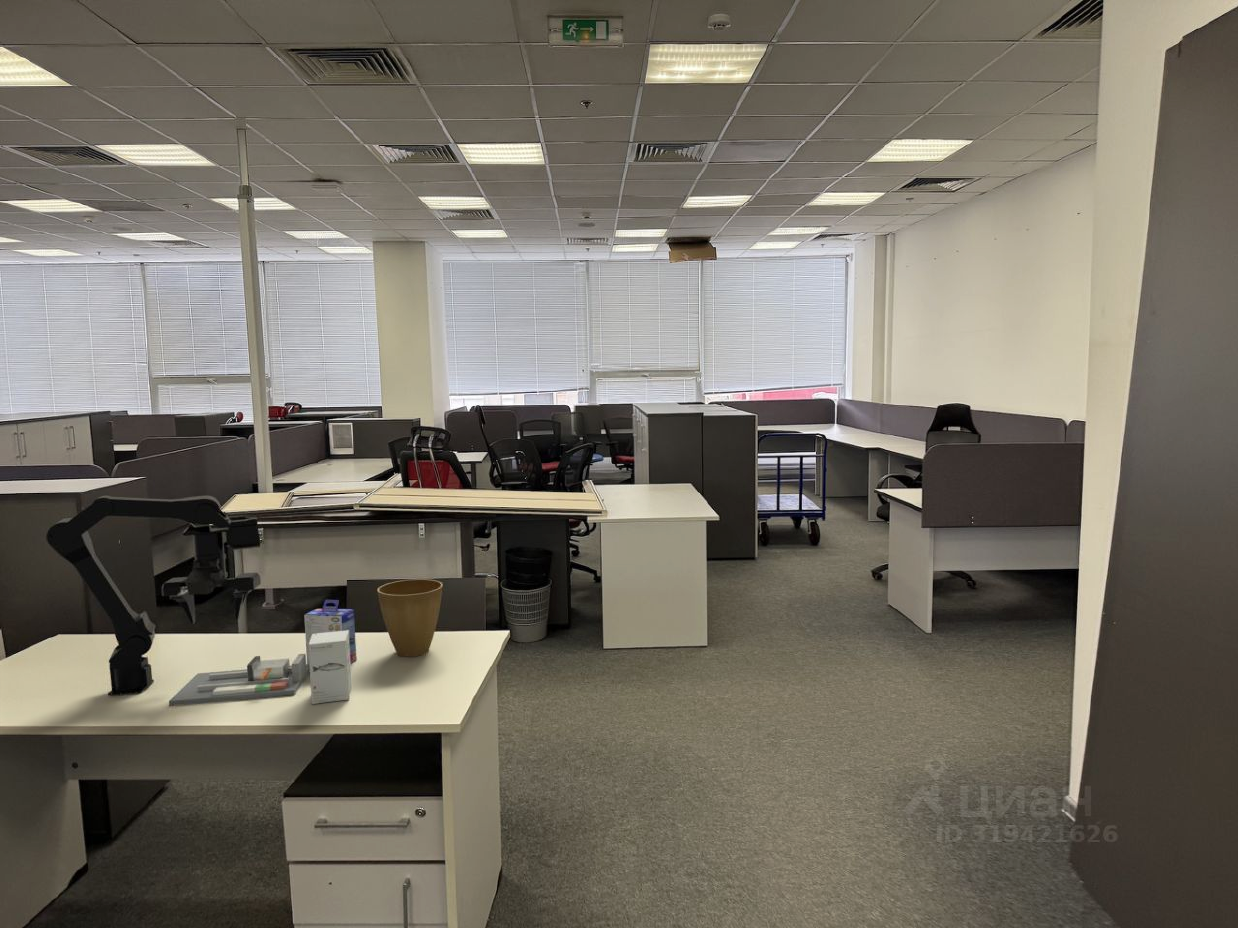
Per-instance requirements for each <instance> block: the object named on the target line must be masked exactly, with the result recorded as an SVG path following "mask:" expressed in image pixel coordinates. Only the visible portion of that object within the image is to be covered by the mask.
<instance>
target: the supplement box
mask: <svg viewBox="0 0 1238 928" xmlns="http://www.w3.org/2000/svg"><path fill="white" fill-rule="evenodd" d="M309 664H310V672H309V674H310V675H309V676H310V680H309V681H310V692H311V693H310V694H311V696H310V697H311V705H316V704H321V703H322V704H323V703H331V702H338V701H348V700H350V695H351V690H352V668H351V666H352V665H351V664H352V663H350V646H349V630H346V631H337V632H326V633H316V634H312V636H311V639H310V642H309Z"/></svg>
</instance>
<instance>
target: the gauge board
mask: <svg viewBox="0 0 1238 928" xmlns="http://www.w3.org/2000/svg"><path fill="white" fill-rule="evenodd" d="M309 674H310V664H307V654H306V653H299V654H297V656H296V658H295V659H294V660H293V661H292V663H291V665H290V673H289V674H288V675H287V677H286V678H281V679H269V680H258V681H248V672H247V668H245V669H237V670H234V669H233V670H224V671H223V670H222V671H212V672H210V671H209V672H200V673H199V672H198V673H196V674H195V675H194V677H192V678H191V679H190V680H189V681H188V682H186V684H185V685H184V686H183V687H182V688H181V689H180V690H178V691H177V693H176V694H174V696H173V697H171V698H170V700H169V701H168V705H169V706H170V707H173V706H181V705H182V706H183V705H193V704H195V705H196V704H204V703H214V702H215V703H217V702H228V701H238V700H249V699H250V700H251V699H261V698H270V697H283V696H294V695H296V694H297V692H298V690H299V689H300V687H301V686H302V684H303V682H304V681H305V680H306V678H307V676H308V675H309Z"/></svg>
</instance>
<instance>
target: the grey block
mask: <svg viewBox="0 0 1238 928" xmlns="http://www.w3.org/2000/svg"><path fill="white" fill-rule="evenodd" d="M290 666H291V665H290V658H280V659H279V658H278V659H266V660H261V655H258V656H257V655H256V656H255V655H254V657H252V659H251V660H250V661H249V663H248V664H247V665H246V669H247V672H248V681H258V680H269V679H281V678H286V677H287V675H288V674H289V673H290Z"/></svg>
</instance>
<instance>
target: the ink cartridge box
mask: <svg viewBox="0 0 1238 928" xmlns="http://www.w3.org/2000/svg"><path fill="white" fill-rule="evenodd" d="M339 602H340V600H339V599H325V600H324V602H323V606H322V608H316V609H313V610H311V611H308V612H307V613H305V614H304V615H303V616H304V617H303V618H304V632H305V634H304V635H305V649H306V650H305V651H306V653H305V654H306V664H309V642H310V639H311V636H312V634H316V633H326V632H337V631H346V630H349V646H350V664H352V663H354V662H355V660H356V661H357V642H356V631H355V630H356V629H355V628H356V626H355V610H354V608H353V609H349V608H339V604H340V603H339ZM331 603H332V604H334V606H331V605H327V604H331Z"/></svg>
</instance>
